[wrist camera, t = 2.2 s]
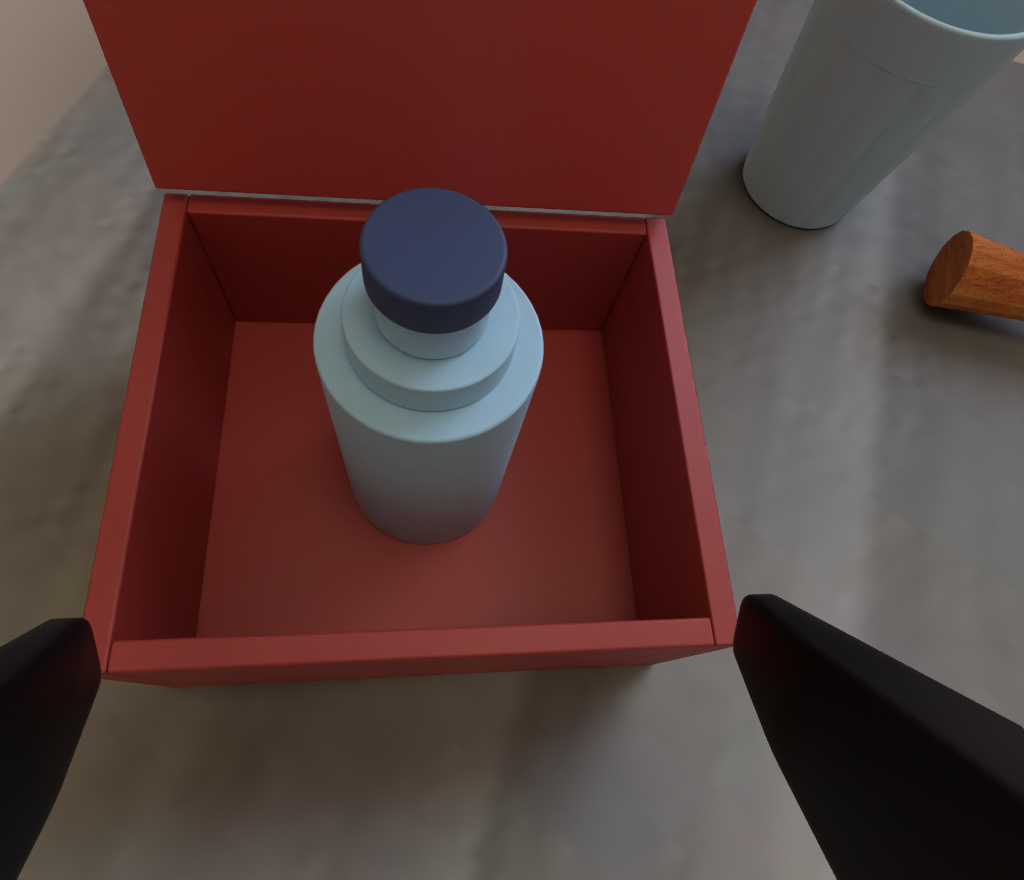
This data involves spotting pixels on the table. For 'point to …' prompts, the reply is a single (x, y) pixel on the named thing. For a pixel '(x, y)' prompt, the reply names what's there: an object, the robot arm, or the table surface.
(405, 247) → the water bottle
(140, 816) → the table surface
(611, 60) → the cool box lid
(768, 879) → the table surface
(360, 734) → the table surface
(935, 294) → the kendama
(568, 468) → the cool box
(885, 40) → the cup
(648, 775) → the table surface
